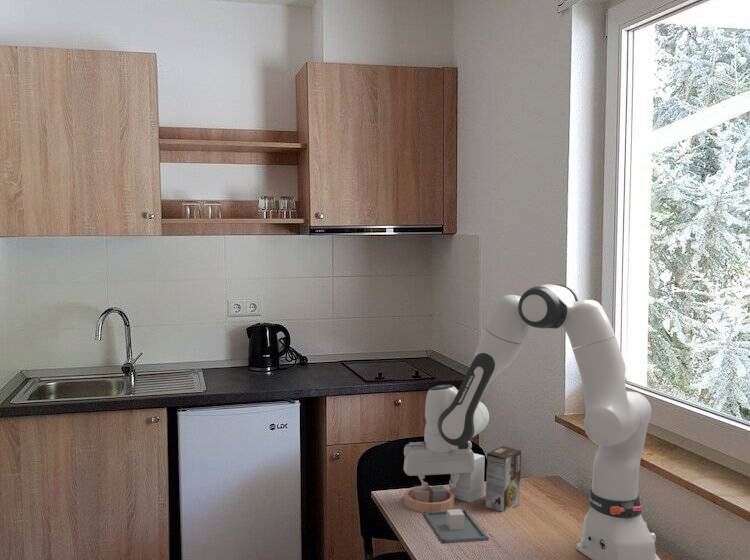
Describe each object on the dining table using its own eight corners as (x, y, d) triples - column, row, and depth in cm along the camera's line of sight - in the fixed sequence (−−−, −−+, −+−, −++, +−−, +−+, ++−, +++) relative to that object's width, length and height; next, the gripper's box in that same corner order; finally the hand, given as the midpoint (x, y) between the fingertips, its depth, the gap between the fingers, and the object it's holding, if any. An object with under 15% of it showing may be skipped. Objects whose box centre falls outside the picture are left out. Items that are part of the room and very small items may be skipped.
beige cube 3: (464, 529, 207) (464, 514, 207) (450, 529, 207) (450, 515, 206) (459, 523, 211) (460, 509, 210) (446, 524, 210) (446, 509, 210)
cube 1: (428, 505, 223) (428, 491, 223) (415, 506, 222) (415, 492, 222) (425, 500, 226) (425, 486, 226) (412, 501, 226) (412, 487, 225)
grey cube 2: (445, 504, 224) (446, 490, 224) (432, 505, 223) (433, 491, 223) (442, 499, 227) (442, 486, 227) (429, 500, 227) (429, 486, 226)
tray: (488, 541, 201) (488, 537, 201) (442, 544, 199) (442, 540, 199) (466, 513, 219) (466, 509, 219) (424, 516, 217) (424, 511, 216)
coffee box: (500, 499, 231) (502, 445, 229) (520, 504, 226) (522, 450, 225) (484, 508, 224) (486, 452, 222) (504, 514, 219) (506, 457, 218)
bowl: (460, 512, 219) (460, 502, 219) (411, 515, 217) (411, 505, 216) (445, 494, 233) (446, 484, 233) (399, 497, 230) (399, 487, 230)
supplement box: (484, 497, 231) (486, 455, 230) (469, 504, 226) (470, 461, 225) (464, 491, 236) (465, 449, 235) (448, 497, 231) (450, 455, 230)
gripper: (406, 446, 219) (405, 494, 220) (477, 443, 223) (475, 490, 224) (401, 439, 225) (400, 486, 226) (470, 436, 229) (468, 482, 230)
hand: (438, 488), depth 225 cm, fingers open, 7 cm apart
